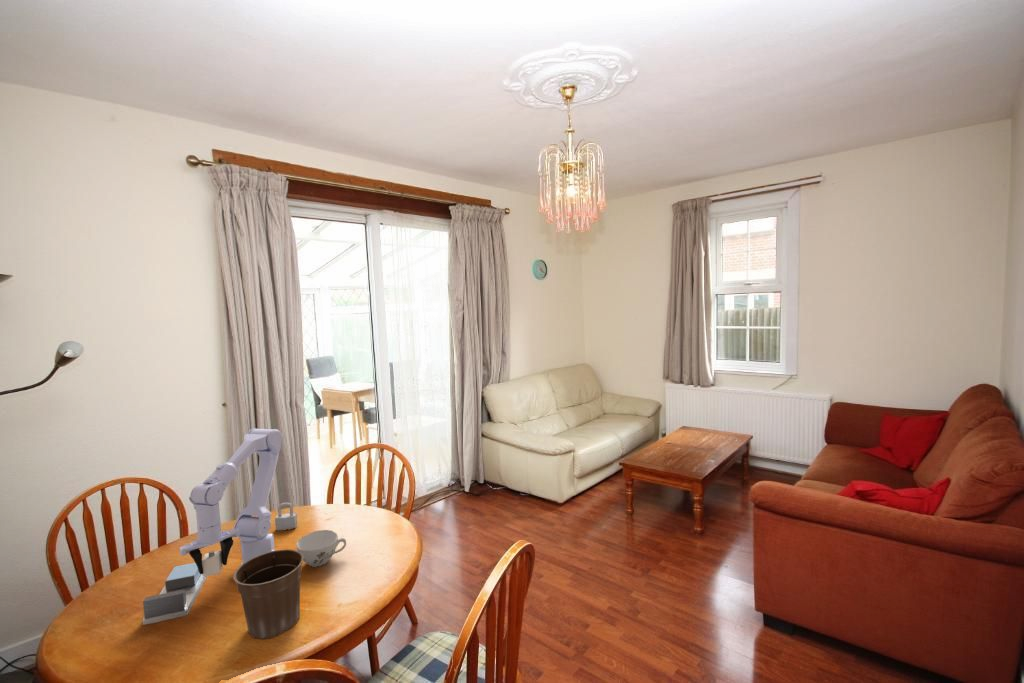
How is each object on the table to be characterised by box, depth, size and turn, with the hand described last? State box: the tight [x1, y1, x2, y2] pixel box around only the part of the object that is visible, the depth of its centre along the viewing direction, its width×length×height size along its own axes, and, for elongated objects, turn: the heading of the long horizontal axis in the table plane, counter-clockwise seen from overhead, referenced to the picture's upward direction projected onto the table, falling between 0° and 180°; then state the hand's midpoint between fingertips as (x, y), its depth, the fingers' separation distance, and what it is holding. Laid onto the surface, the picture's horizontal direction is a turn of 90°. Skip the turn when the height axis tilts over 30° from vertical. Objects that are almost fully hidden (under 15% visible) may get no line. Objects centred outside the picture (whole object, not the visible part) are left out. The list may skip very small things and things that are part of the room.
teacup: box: [295, 529, 347, 568], centre depth 149 cm, size 15×12×8 cm
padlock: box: [274, 502, 298, 531], centre depth 173 cm, size 7×4×10 cm, turn 99°
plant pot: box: [233, 548, 304, 640], centre depth 120 cm, size 16×16×16 cm
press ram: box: [164, 562, 200, 591], centre depth 138 cm, size 7×8×3 cm
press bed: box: [142, 574, 208, 626], centre depth 132 cm, size 10×21×6 cm, turn 20°
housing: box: [202, 550, 224, 577], centre depth 134 cm, size 4×4×6 cm
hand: (212, 568), depth 134 cm, fingers closed on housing, 5 cm apart
